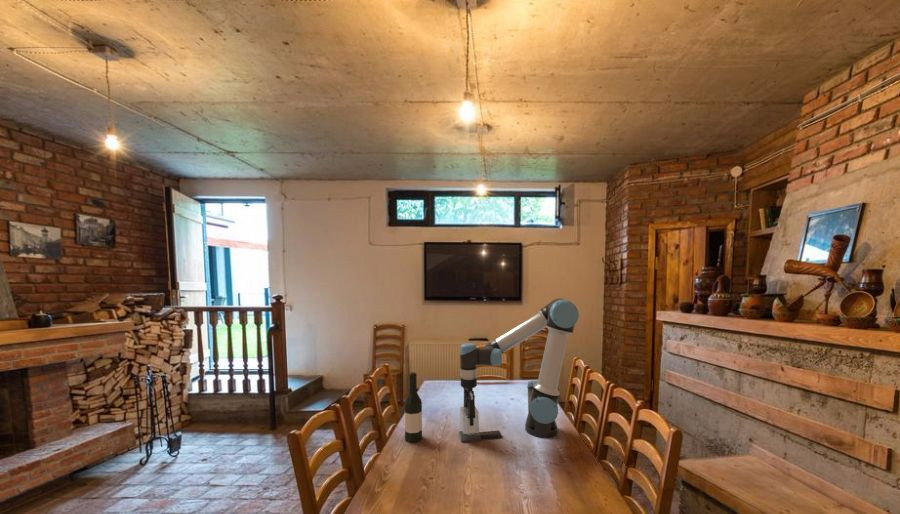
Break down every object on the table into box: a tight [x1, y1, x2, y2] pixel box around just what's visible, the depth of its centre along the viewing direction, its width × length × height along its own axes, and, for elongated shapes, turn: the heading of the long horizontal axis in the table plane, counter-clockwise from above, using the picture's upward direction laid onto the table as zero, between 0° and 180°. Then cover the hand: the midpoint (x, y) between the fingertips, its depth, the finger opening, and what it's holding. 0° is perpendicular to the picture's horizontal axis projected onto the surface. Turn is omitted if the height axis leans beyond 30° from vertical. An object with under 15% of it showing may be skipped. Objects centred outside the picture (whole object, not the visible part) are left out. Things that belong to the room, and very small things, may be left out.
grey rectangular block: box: [459, 406, 480, 434], centre depth 151 cm, size 7×7×9 cm
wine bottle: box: [404, 371, 423, 444], centre depth 153 cm, size 8×8×30 cm
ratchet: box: [458, 429, 502, 443], centre depth 151 cm, size 19×5×6 cm, turn 99°
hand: (469, 428), depth 151 cm, fingers closed on grey rectangular block, 7 cm apart
